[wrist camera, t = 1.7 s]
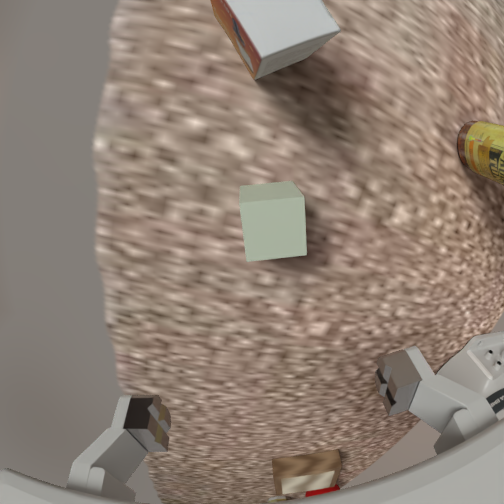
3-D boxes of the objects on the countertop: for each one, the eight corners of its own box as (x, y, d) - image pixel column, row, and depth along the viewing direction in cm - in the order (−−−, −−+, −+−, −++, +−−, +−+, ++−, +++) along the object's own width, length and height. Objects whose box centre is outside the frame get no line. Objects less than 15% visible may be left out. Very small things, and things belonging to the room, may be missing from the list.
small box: (213, 15, 21) (199, -33, 11) (267, -7, 20) (280, -60, 10) (253, 82, 24) (260, 61, 15) (307, 59, 23) (343, 30, 14)
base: (338, 449, 51) (342, 468, 47) (331, 471, 57) (334, 487, 53) (271, 458, 51) (273, 478, 47) (275, 479, 57) (276, 496, 53)
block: (292, 180, 28) (304, 196, 23) (295, 229, 30) (306, 255, 25) (239, 186, 28) (239, 203, 23) (245, 234, 30) (246, 261, 25)
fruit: (336, 473, 58) (343, 505, 49) (338, 482, 62) (344, 511, 53) (301, 481, 59) (305, 513, 50) (306, 489, 63) (310, 518, 54)
